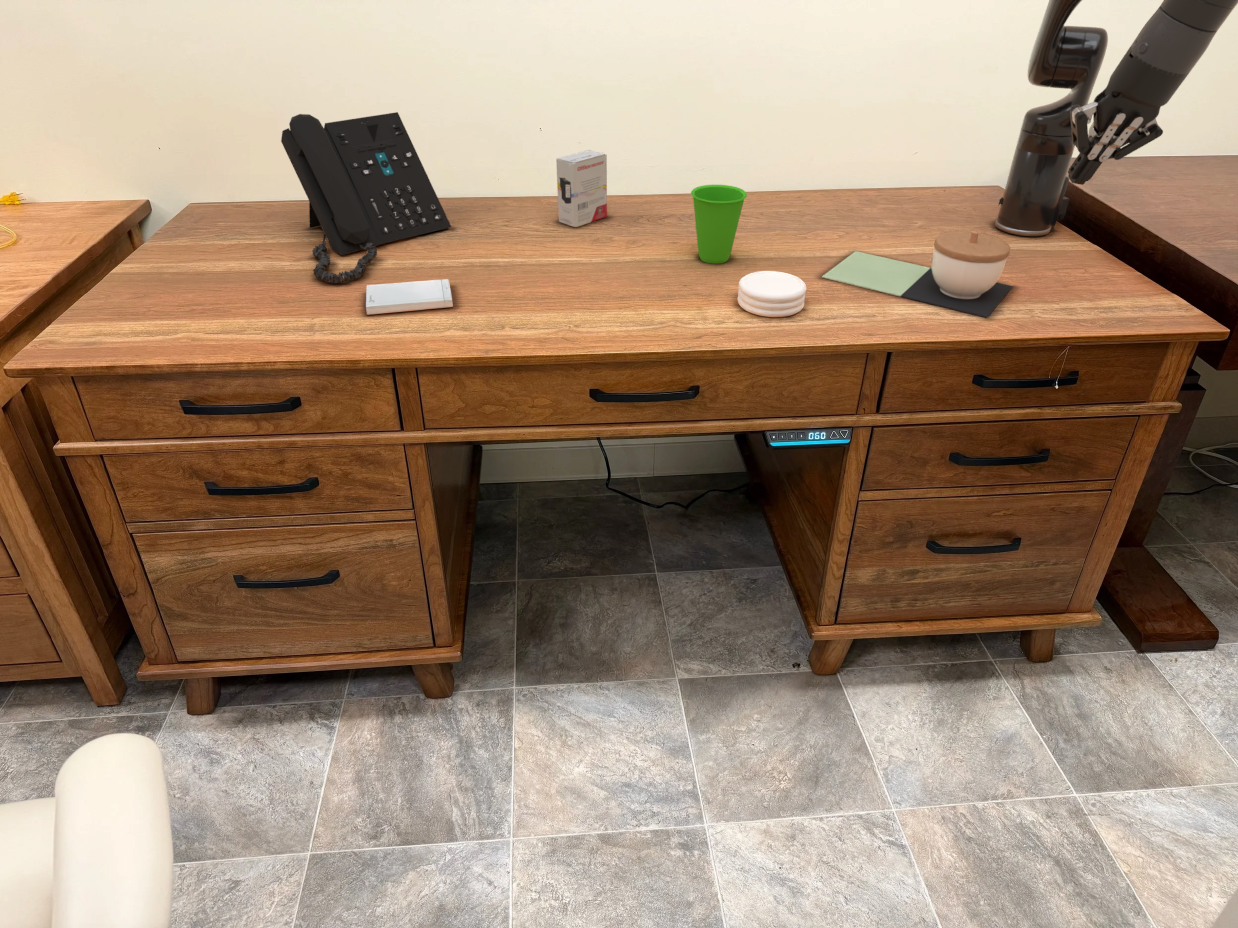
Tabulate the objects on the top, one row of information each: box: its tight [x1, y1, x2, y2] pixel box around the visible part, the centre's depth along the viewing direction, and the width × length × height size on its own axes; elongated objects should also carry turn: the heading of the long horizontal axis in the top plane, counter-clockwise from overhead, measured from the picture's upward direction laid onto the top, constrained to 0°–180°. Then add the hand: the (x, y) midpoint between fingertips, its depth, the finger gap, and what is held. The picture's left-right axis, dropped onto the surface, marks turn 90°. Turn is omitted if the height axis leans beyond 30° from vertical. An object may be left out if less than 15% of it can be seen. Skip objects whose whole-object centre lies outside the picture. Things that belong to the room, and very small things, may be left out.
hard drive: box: [365, 278, 454, 316], centre depth 126 cm, size 2×8×12 cm
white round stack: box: [736, 270, 807, 318], centre depth 125 cm, size 10×10×4 cm
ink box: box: [555, 149, 608, 228], centre depth 154 cm, size 9×5×12 cm, turn 136°
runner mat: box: [821, 250, 1013, 319], centre depth 133 cm, size 26×14×1 cm, turn 55°
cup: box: [690, 184, 748, 264], centre depth 138 cm, size 9×9×11 cm
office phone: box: [280, 111, 452, 284], centre depth 141 cm, size 29×28×20 cm
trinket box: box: [931, 230, 1011, 299], centre depth 127 cm, size 11×11×9 cm
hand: (1074, 180), depth 115 cm, fingers closed
